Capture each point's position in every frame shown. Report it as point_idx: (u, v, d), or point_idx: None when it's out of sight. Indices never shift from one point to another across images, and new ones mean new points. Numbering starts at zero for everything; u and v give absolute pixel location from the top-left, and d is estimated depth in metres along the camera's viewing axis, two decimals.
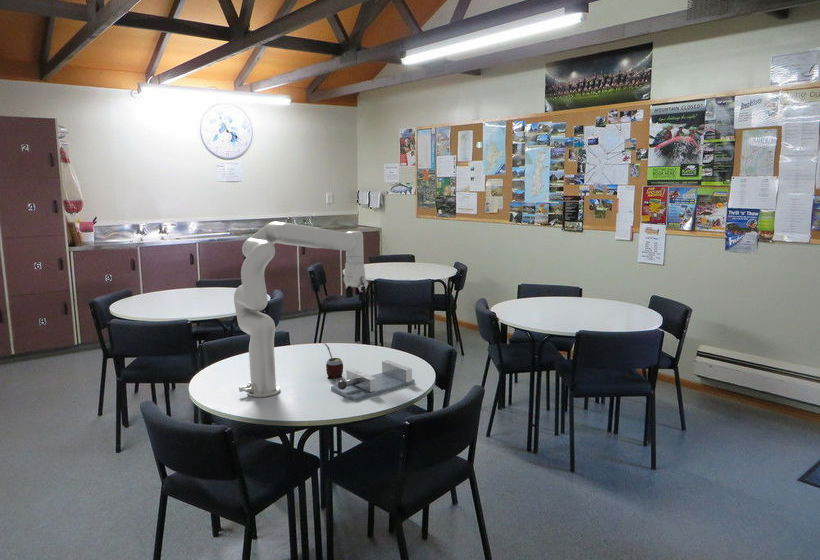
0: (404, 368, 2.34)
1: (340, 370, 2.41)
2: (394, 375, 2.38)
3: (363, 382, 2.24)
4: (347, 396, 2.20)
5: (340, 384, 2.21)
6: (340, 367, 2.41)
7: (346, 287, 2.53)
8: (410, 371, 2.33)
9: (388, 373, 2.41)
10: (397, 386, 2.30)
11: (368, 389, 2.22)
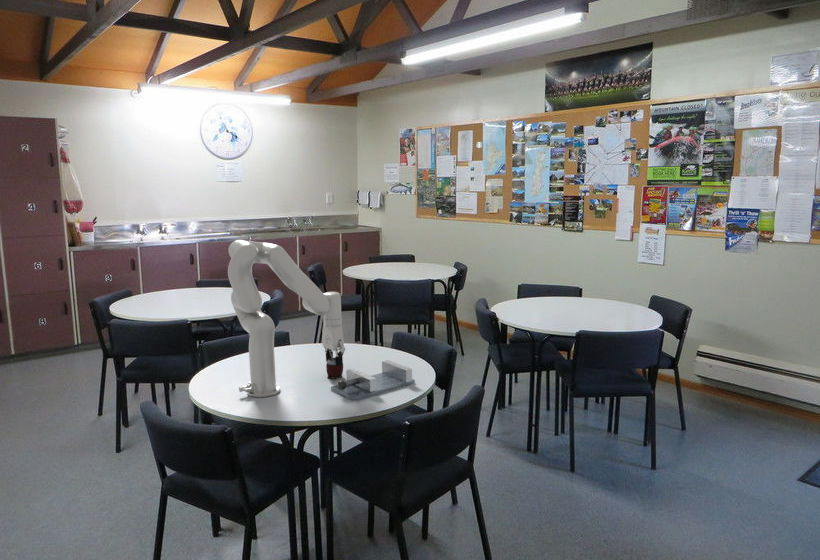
0: (404, 368, 2.34)
1: (340, 370, 2.41)
2: (394, 375, 2.38)
3: (363, 382, 2.24)
4: (347, 396, 2.20)
5: (340, 384, 2.21)
6: (340, 366, 2.41)
7: (326, 351, 2.44)
8: (410, 371, 2.33)
9: (388, 373, 2.41)
10: (397, 386, 2.30)
11: (368, 389, 2.22)
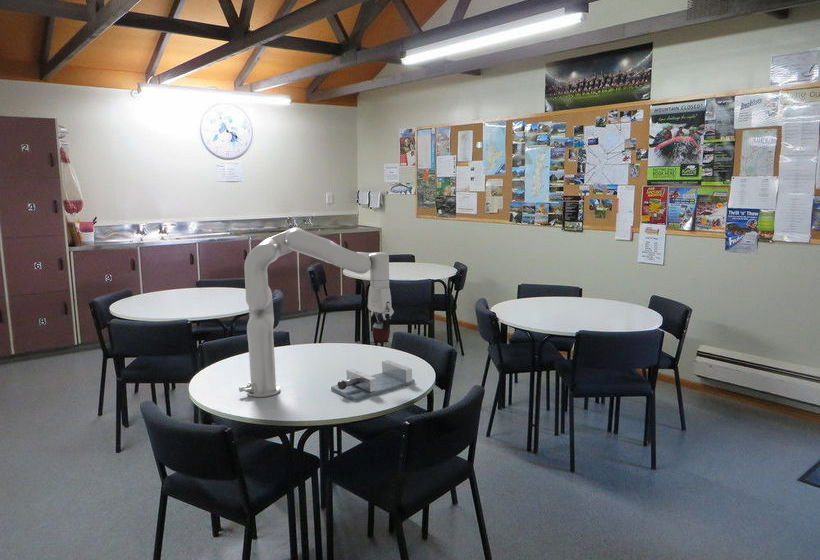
0: (404, 368, 2.34)
1: (387, 334, 2.31)
2: (394, 375, 2.38)
3: (363, 382, 2.24)
4: (347, 396, 2.20)
5: (340, 384, 2.21)
6: (387, 330, 2.30)
7: (371, 314, 2.33)
8: (410, 371, 2.33)
9: (388, 373, 2.41)
10: (397, 386, 2.30)
11: (368, 389, 2.22)
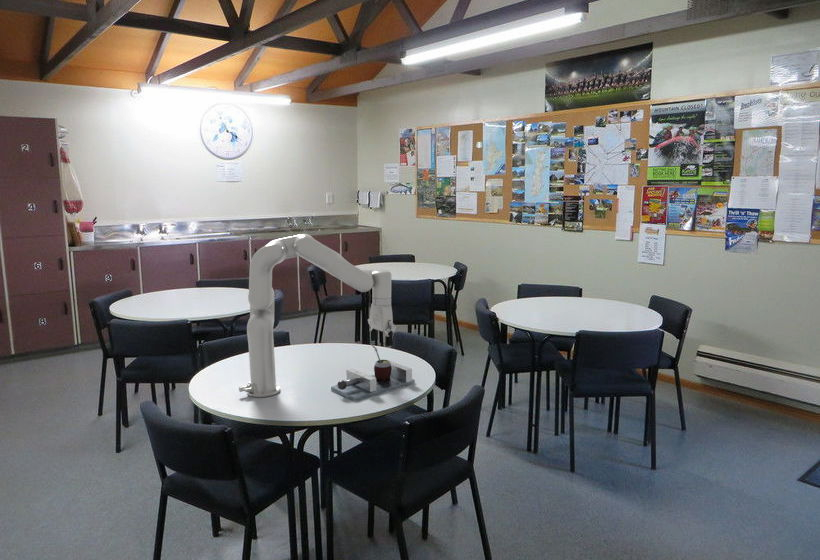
0: (404, 368, 2.34)
1: (389, 372, 2.33)
2: (394, 375, 2.38)
3: (363, 382, 2.24)
4: (347, 396, 2.20)
5: (340, 384, 2.21)
6: (389, 369, 2.32)
7: (371, 330, 2.35)
8: (410, 371, 2.33)
9: None
10: (397, 386, 2.30)
11: (368, 389, 2.22)
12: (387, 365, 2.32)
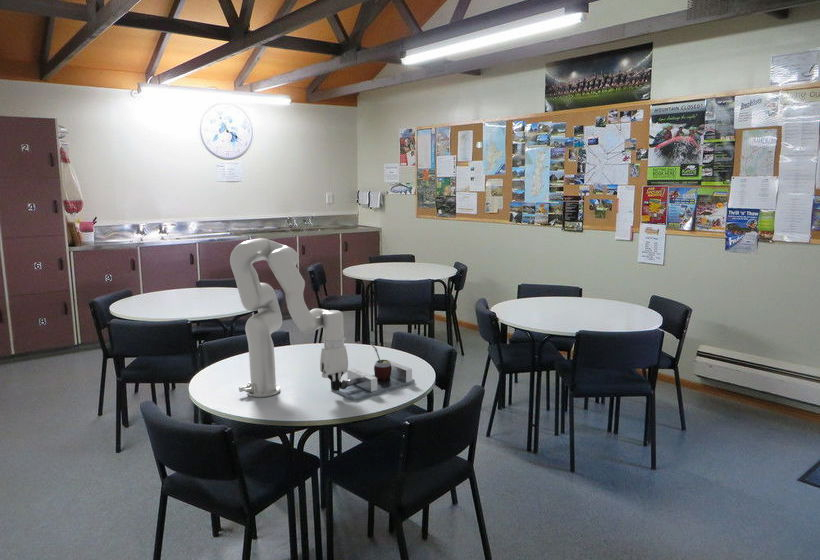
0: (404, 368, 2.34)
1: (389, 372, 2.33)
2: (394, 375, 2.38)
3: (363, 381, 2.25)
4: (347, 396, 2.20)
5: (341, 384, 2.21)
6: (389, 369, 2.32)
7: (335, 376, 2.21)
8: (410, 371, 2.33)
9: None
10: (397, 386, 2.30)
11: (369, 389, 2.22)
12: (387, 365, 2.32)
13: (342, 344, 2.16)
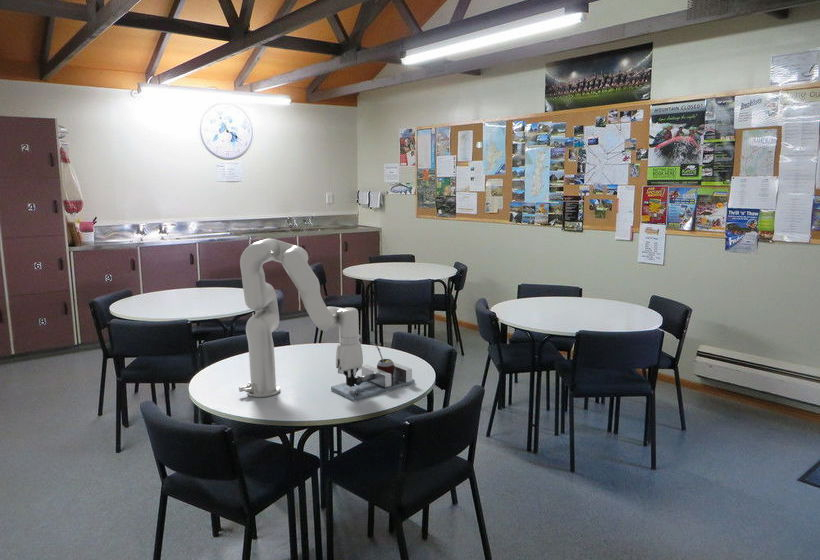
0: (404, 368, 2.34)
1: (392, 371, 2.34)
2: (394, 375, 2.38)
3: (378, 377, 2.29)
4: (347, 396, 2.20)
5: (356, 380, 2.25)
6: (392, 368, 2.34)
7: (350, 372, 2.26)
8: (410, 371, 2.33)
9: None
10: (397, 386, 2.30)
11: (383, 385, 2.27)
12: (390, 364, 2.33)
13: (357, 341, 2.20)
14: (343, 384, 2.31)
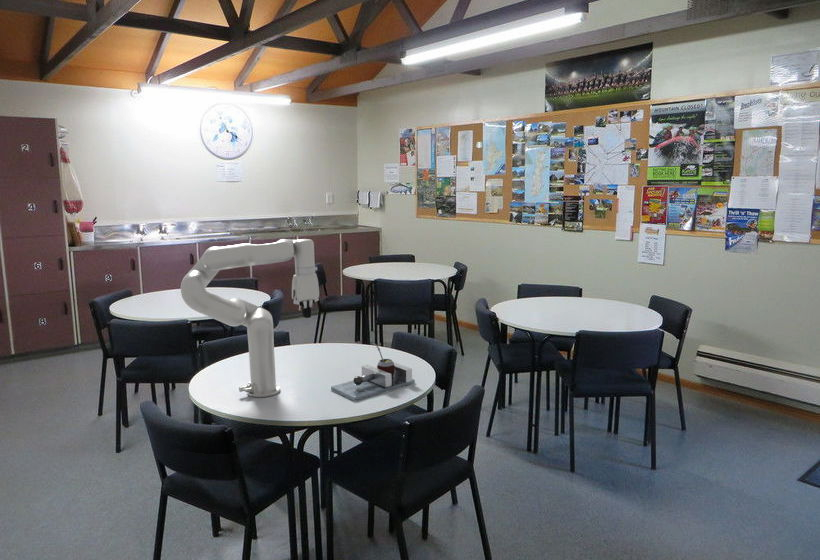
0: (404, 368, 2.34)
1: (392, 371, 2.34)
2: (394, 375, 2.38)
3: (378, 377, 2.29)
4: (347, 396, 2.20)
5: (356, 380, 2.25)
6: (392, 368, 2.34)
7: (306, 304, 2.28)
8: (410, 371, 2.33)
9: None
10: (397, 386, 2.30)
11: (383, 385, 2.27)
12: (390, 364, 2.33)
13: (313, 271, 2.23)
14: (343, 384, 2.31)
